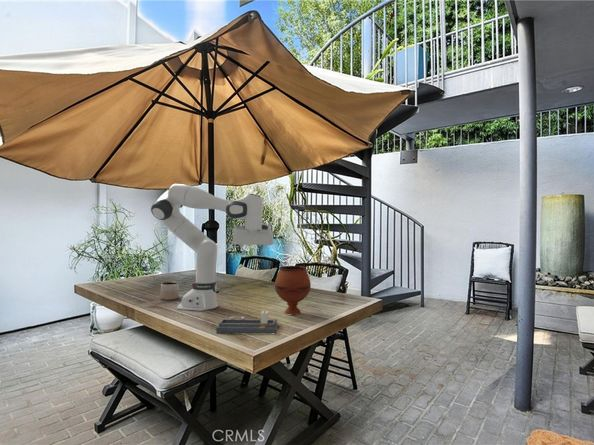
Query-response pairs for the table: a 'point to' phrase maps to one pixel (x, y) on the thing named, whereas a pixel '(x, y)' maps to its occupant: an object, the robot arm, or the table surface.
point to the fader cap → (264, 317)
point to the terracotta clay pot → (292, 286)
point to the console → (245, 326)
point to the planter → (169, 290)
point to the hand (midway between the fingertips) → (253, 253)
